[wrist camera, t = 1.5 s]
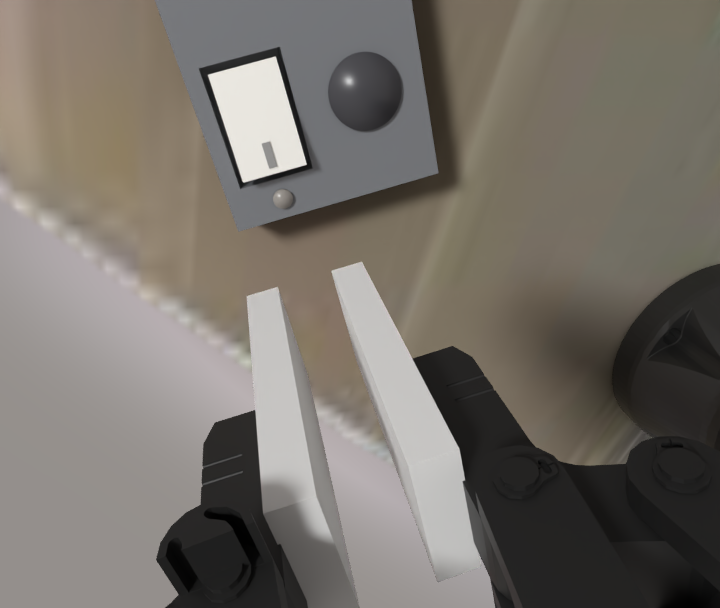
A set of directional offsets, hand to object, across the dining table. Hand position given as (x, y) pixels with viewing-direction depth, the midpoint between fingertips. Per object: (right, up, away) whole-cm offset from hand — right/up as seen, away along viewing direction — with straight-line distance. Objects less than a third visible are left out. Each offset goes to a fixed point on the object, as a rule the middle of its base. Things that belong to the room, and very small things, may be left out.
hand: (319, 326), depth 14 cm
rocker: (-4, +9, +13) cm, 17 cm away
